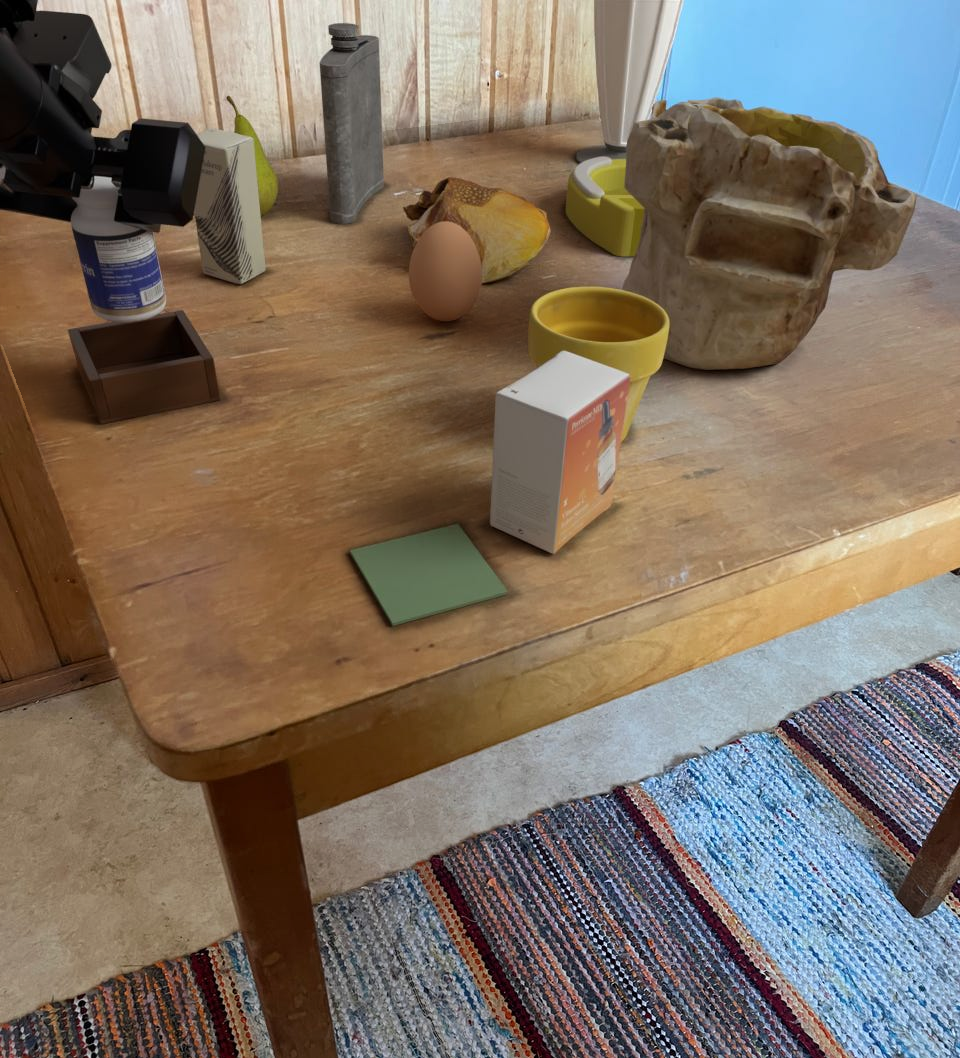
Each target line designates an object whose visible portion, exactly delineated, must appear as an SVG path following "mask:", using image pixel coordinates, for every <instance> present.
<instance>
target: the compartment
mask: <svg viewBox="0 0 960 1058" xmlns="http://www.w3.org/2000/svg"><path fill="white" fill-rule="evenodd" d="M67 333H68V336H69V340H70V343H71V347H72V352H73V355H74V359H75V363H76V365H77V370H78V373H79V375H80V378H81V380H82V383H83V385H84V388H85V389H86V392H87V395H88V397H89V399H90V401H91V404H92V406H93V409H94V411H95V413H96V416H97V418H98V420H99V423H100V425H105V424H109V423H114V422H120V421H125V420H130V419H134V418H140V417H145V416H149V415H154V414H159V413H163V412H169V411H173V410H178V409H183V408H188V407H189V408H190V407H195V406H199V405H203V404H207V403H213V402H219V401H221V396H220V395H221V394H220V391H219V390H220V389H219V383H218V378H217V371H216V365H215V359H214V356H213V355H212V354H211V352H210V350H209V348H208V347H207V345H206V344H205V342H204V340H203V339H202V338H201V336H200V334H199V333H198V331H197V330H196V328H195V327H194V325H193V324H192V321H191V320H190V319H189V317H188V315H187V314H186V312H185V311H184V310H183V309H181V310H175V311H169V312H162V313H159V314H157V315H156V316H154V317H152V318H149V319H146V320H142V321H137V322H127V323H122V322H112V321H108V322H103V323H96V324H91V325H86V326H79V327H74V328H73V327H72V328H68V329H67Z"/></svg>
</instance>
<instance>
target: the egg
mask: <svg viewBox="0 0 960 1058" xmlns="http://www.w3.org/2000/svg"><path fill="white" fill-rule="evenodd" d="M408 267H409V268H408V281H409V288H410V291H411V295H412V298H413V299H414V301H415V302H416V304H417V306H418V307H419V308H420V309H421V311H422V312H424V313H425V315H427V316H428V317H430V318H431V319H434V320H436V321H439V322H452V321H456V320H458V319H461V318H462V317H464V316H465V315H466V314H467V313H468V312H469V311H470V310H471V309H472V308H473V306H474V305H475V303H476V302H477V300H478V297H479V296H480V293H481V289H482V285H483V283H482V266H481V261H480V256H479V254H478V251H477V249H476V246H475V244H474V242H473V240H472V239H471V237H470V236H469V234H468V233H467V232H466V231H465V230H464V229H463V228H462V227H460V226H459V225H457V224H455V223H452V222H448V221H444V222H439V223H436V224H434V225H432V226H430V227H429V228H428V229H427V230H426V231H425V232H424V233H423V234H422V236H421V237H420V239H419V240H418V242H417V244H416V246H415V248H414V247H413V250H412V254H411V256H410V261H409V265H408Z"/></svg>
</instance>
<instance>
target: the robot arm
mask: <svg viewBox="0 0 960 1058" xmlns="http://www.w3.org/2000/svg"><path fill="white" fill-rule="evenodd" d="M38 3H39V0H0V211H5V212H11V213H15V214H22V215H28V216H34V217H39V218H44V219H51V220H55V221H56V220H57V221H61V222H66V223H71V215H72V212H73V211H74V209H75V208H76V207H77V203H76V202H75V201H74V200H73V199H72V197H75V198H79V197H80V191H81V189H92V188H93V186H94V181H95V178H94V176H99V177H109V178H112V179H111V182H112V183H113V184H114V186H115V187H119V189H118V199H117V205H116V210H115V216H114V221H115V222H118V223H121V224H125V225H129V226H133V227H136V228H140V229H143V230H147V231H151V232H153V233H155V234H159V233H160V231H161V227H162V225H163V226H171V227H172V226H173V227H181V228H184V227H185V226H187V225H188V224H189V223H190V222H192V221H193V219H194V216H195V212H194V209H195V204H196V198H197V193H198V187H199V181H200V176H201V170H202V165H203V159H204V153H205V148H206V147H205V146H204V144H203V143H202V141H201V140H200V139H199V137H198V136H197V134H198V133H197V132H196V131H195V130H194V128H193V127H192V126H191V125H190V123H189V122H186V121H185V122H184V121H176V120H175V121H174V120H173V121H172V120H162V119H153V118H139V119H137V120H135V121H134V122H132V123H131V126H130V129H123V130H121V131H120V132H118V134H117V135H116V137H114V138H113V137H105V136H104V137H103V136H95V135H92V132H93V131H92V130H93V129H100V124H101V119H102V116H103V115H102V114H103V110H102V109H101V108H100V106H99V105H98V104H97V102H96V101H95V100H94V98H95V97H96V95H97V93H98V91H99V89H100V87H101V85H102V83H103V81H104V79H105V76H106V75H107V74H109V73H110V72H111V69H112V66H113V65H112V64H113V63H112V62H111V59H110V57H109V55H108V53H107V50H106V48H105V45H104V43H103V40H102V38H101V37H100V34H99V31H98V29H97V27H96V24H95V22H94V19H93V18H92V17H91V16H90V15H88V14H85V13H77V12H66V11H55V10H54V11H53V10H37V8H38Z"/></svg>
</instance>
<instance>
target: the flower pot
mask: <svg viewBox="0 0 960 1058" xmlns="http://www.w3.org/2000/svg"><path fill="white" fill-rule="evenodd" d="M529 310H530V311H529V319H528V321H529V322H528V341H527V344H528V345H527V348H528V349H527V350H528V354H529V357H530V359H531V360H532V362H533V363H534V364H535V365H536V369H537V368H538V367H540V366H541V365H543V364H544V363H546V362H548V361H549V360H551V359H552V358H554V357H555V356H556V355H557V354H558V353H560V352H561V351H567V352H570V353H573V354H575V355H578V356H581V357H584V358H587V359H589V360H592V361H595V362H598V363H600V364H603V365H606V366H609V367H611V368H614V369H617V370H620V371H622V372H625V373H627V374H630V376H631V378H630V384H629V392H628V398H627V405H626V411H625V419H624V425H623V431H622V437H621V443H622V442H623V441H624V440H625V439H626V437H627V435H628V432H629V430H630V428H631V425H632V423H633V420H634V417H635V415H636V412H637V410H638V407H639V405H640V403H641V400H642V398H643V395H644V393H645V390H646V388H647V385H648V383H649V380H650V378H651V376H653V375H654V374H656V373H657V372H658V371H659V370H660V368H661V366H662V364H663V360H664V358H663V357H664V353H665V349H666V344H667V339H668V333H669V325H670V323H669V318H668V315H667V313H666V312H665V311H664V309H663V308H662V307H660V306H659V305H658V304H656V303H655V302H653V301H652V300H650V299H648V298H646V297H643V296H641V295H638V294H635V293H632V292H628V291H624V290H622V289H619V288H613V287H604V286H573V287H572V286H571V287H566V288H561V289H556V290H553V291H550V292H548V293H545V294H543V295H541V296H540V297H538V298H537V299H536V300H535V301H534V302H533V304H532V305H531V307H530V309H529Z"/></svg>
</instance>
